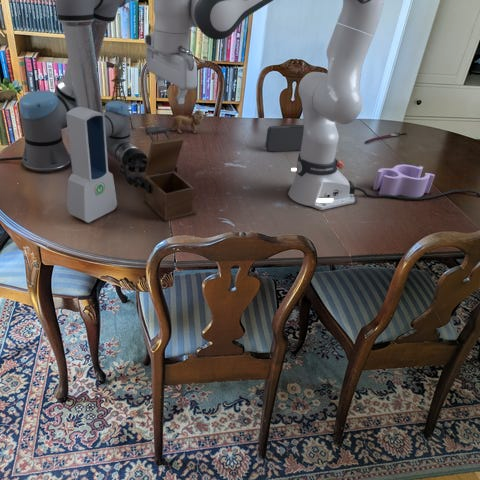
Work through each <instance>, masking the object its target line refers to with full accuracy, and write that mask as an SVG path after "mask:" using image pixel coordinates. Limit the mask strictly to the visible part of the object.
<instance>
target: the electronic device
mask: <svg viewBox="0 0 480 480" xmlns="http://www.w3.org/2000/svg"><path fill="white" fill-rule="evenodd" d="M103 113H104V112H103ZM103 113H100V112H97V111H94V110H91V109H88V108H84V107H77V108H73V109H71V110H70V111H68V112H67V113H66V118H67V127H66V128H67V135H68V143H69V155H70V159H71V171H72V173H71V174H70V176H69V177H68V180H67V195H66V196H67V198H66V209H67V211H68V213H69V215H71V216H73V217H75V218H77V219H79V220H81V221H83V222H85V223H88V224H90V223H91V222H93V221H95V220H97V219H99V218H101V217H103V216H105V215H108V214H109V213H111V212H113V211H114V210H115V209H116V208H117V206H118V200H117V193H116V188H115V187H116V186H115V180H114V179H115V178H114V174H113V173H112V172H110V171H109V162H108V161H109V160H108V152H107V145H106V130H105V115H104V114H103Z"/></svg>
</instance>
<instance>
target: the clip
mask: <svg viewBox="0 0 480 480" xmlns="http://www.w3.org/2000/svg"><path fill="white" fill-rule="evenodd" d="M423 169H424V166H422V165H419V166H416V165H411V164H396V165H395V166H394V167H391V168H388V167H387V168H385V167H381V168H379V169H378V170H377V174H376V177H375V181H374V184H373V188H372V189H373V191H378V189H379V192H378V195H393V196H401V197H412V198H416V197H424V194H429V193H430V190H431V188H432V185H433V182H434V179H435V175H436V174H434V173H429V172H424V176H422V177H421V175H422V173H423Z"/></svg>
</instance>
